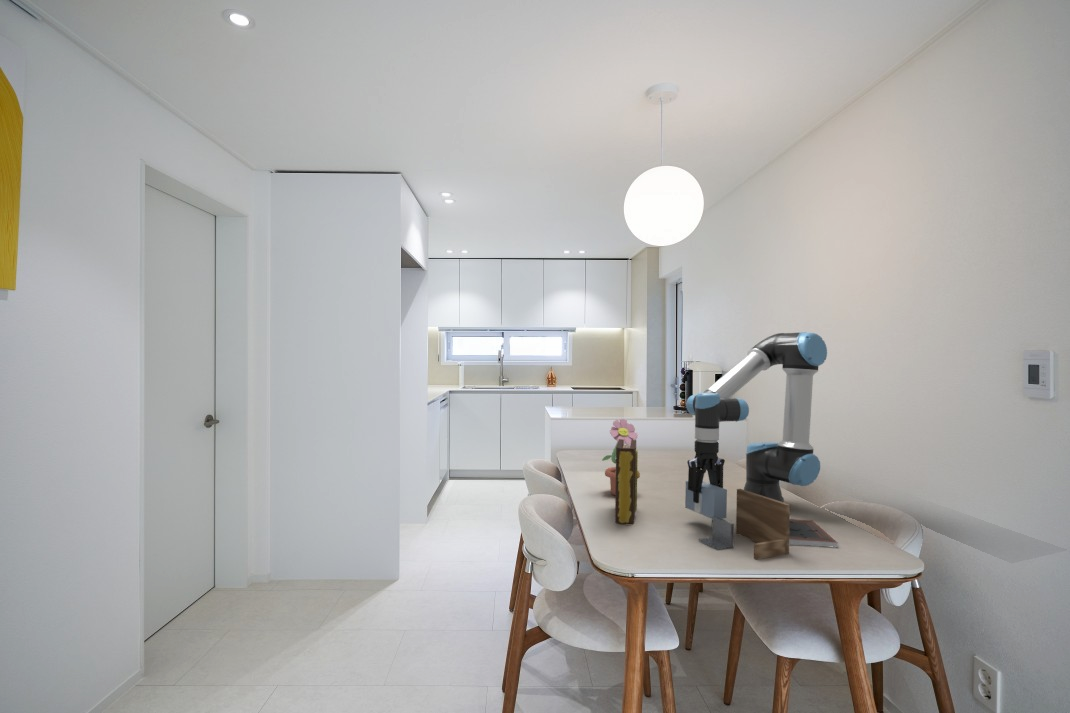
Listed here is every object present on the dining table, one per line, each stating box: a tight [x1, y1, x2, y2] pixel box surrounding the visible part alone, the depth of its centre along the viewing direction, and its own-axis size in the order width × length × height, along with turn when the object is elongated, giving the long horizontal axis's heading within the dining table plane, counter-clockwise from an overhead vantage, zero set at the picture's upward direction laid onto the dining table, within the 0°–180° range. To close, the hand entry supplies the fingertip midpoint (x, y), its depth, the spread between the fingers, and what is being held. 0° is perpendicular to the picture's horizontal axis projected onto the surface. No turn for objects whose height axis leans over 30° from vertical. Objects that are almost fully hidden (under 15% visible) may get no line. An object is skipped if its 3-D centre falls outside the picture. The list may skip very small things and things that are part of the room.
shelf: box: [735, 488, 791, 560], centre depth 162 cm, size 12×19×14 cm, turn 23°
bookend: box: [698, 516, 735, 551], centre depth 162 cm, size 6×8×7 cm
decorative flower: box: [601, 418, 641, 496], centre depth 218 cm, size 15×14×30 cm
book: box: [614, 439, 640, 525], centre depth 191 cm, size 22×8×25 cm, turn 168°
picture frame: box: [789, 518, 838, 548], centre depth 173 cm, size 16×2×22 cm
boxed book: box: [684, 480, 728, 520], centre depth 178 cm, size 5×14×9 cm, turn 22°
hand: (705, 511), depth 178 cm, fingers closed on boxed book, 5 cm apart
